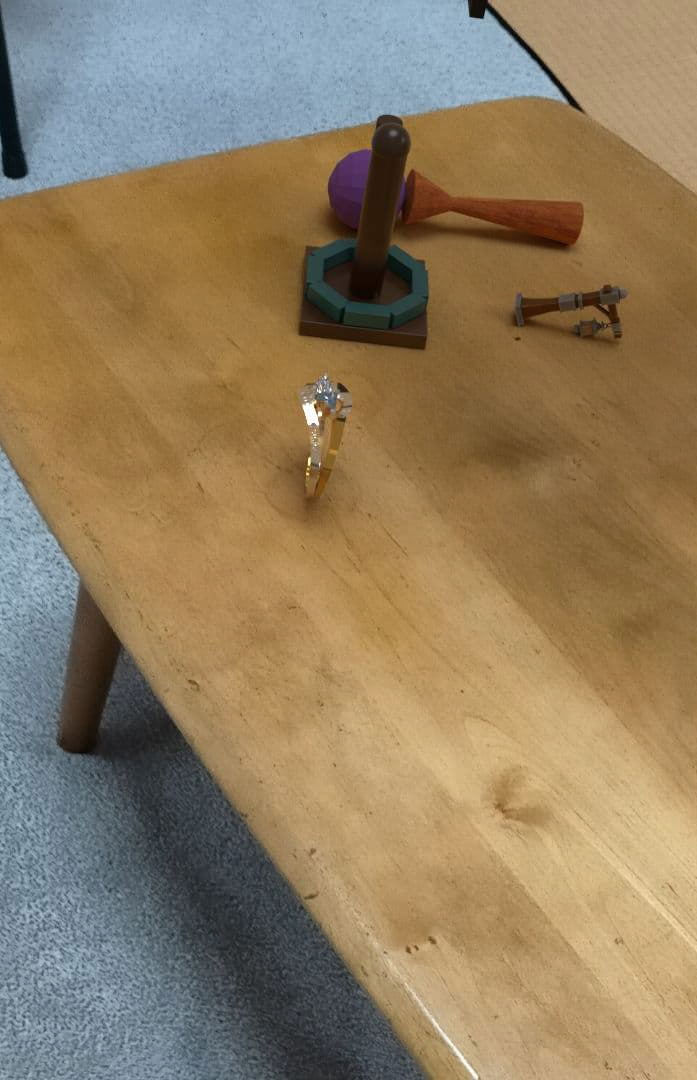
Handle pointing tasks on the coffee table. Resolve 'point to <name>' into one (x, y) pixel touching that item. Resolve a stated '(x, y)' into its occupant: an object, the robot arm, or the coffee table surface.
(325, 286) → the ring
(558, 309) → the wooden post with brackets
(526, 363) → the coffee table surface
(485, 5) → the robot arm
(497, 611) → the coffee table surface
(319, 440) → the ring
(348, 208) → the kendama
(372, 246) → the stand
